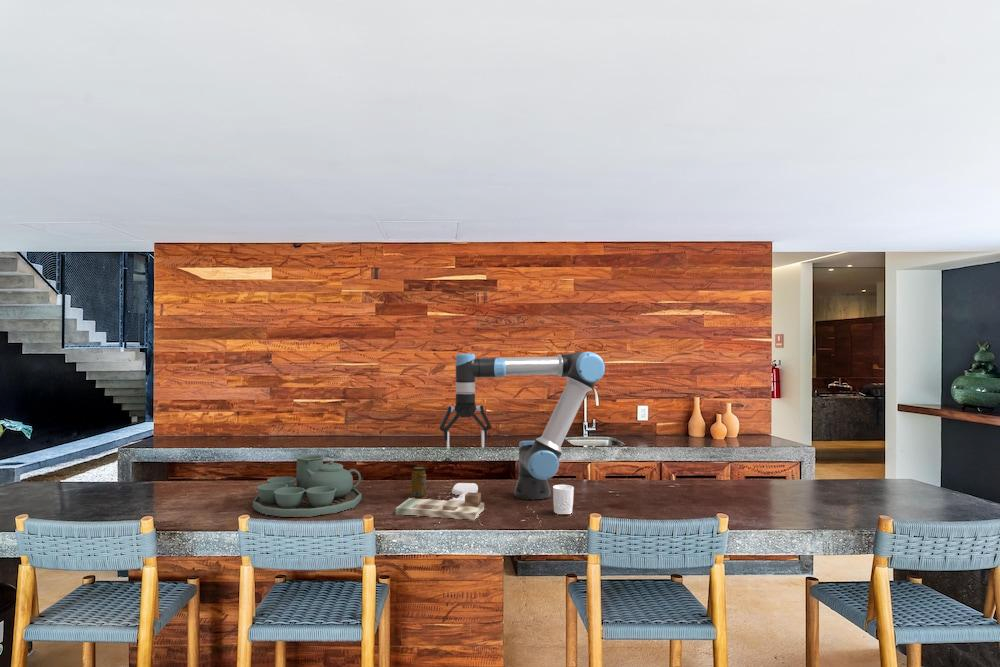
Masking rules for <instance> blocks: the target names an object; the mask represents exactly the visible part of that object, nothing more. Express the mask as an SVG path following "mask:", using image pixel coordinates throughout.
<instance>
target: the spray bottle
mask: <svg viewBox="0 0 1000 667" xmlns="http://www.w3.org/2000/svg"><path fill="white" fill-rule="evenodd" d="M478 486H479V485H477V484H476V483H475V482H474V483H473V482H471V483H470V482H469V483H468V482H457V483H456V484H455V485H453V487H452V488H451V494H452V495H453V494H455V495H454V496H456V495H459V496H457V497H452V498H451V499H449V501H463V502H465V495H466V494H467V493H468V492H471V493H478V492H479V490H478V489H479V487H478Z"/></svg>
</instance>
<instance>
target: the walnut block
mask: <svg viewBox="0 0 1000 667" xmlns="http://www.w3.org/2000/svg"><path fill="white" fill-rule="evenodd" d="M481 503H482V493H481V492H477V493H471V492H468V493H467V494H466V495H465V506H469V507H478V506H479V505H480V504H481Z"/></svg>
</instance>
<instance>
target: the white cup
mask: <svg viewBox="0 0 1000 667" xmlns="http://www.w3.org/2000/svg"><path fill="white" fill-rule="evenodd" d="M574 491H575V487H574V486H573V485H569V484H555V485H553V486H552V500H553V513H554V512H555V513H557V514H571V513H572V514H573V506H574V497H575V496H574Z"/></svg>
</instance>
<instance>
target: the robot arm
mask: <svg viewBox="0 0 1000 667" xmlns="http://www.w3.org/2000/svg"><path fill="white" fill-rule="evenodd" d="M455 357H456V358H455V392H456V394H455V405H454V406H451V405H448V406H447V409H446V413H445V414H444V417H443V418H442V421H441V423H440V425H439V427H438V429H439V430H440V431H442V432H443V439H444V441H446V449H447V450H450V431H449V430H450V429H451V427H453V425H454V424H455V423H456V421H457V420H458V419H459V418H471V417H473V419H474V420H475V421H476V423H477V424H478V425H479V426H480V427H481V429H482V430H480V432H481V433H480V434H481V436H480V440H481V441H480V442H481V443H480V446H481V448H482V449H484V448H485V440H487V439H488V430H491V429H492V427H493V426H492V425H491V423H490V421H489V419H488V416H487V415H486V412H485V411H484V406H483V405H482V404H479V405H476V394H475V393H476V378H489V379H490V378H495V379H497V378H504V377H505V376H550V375H551V376H552V375H553V376H554V375H555V376H558V377H559V378H565V379H566V385H565V387H564V389H563V391H562V393H561V395H560V397H559V399H558V402H557V404H556V406H555V408H554V409H553V412H552V414H551V416H550V418H549V420H548V422H547V424H546V426H545V428H544V430H543V432H542V434H541V436H540V437H537V438H535V440H521V441H519V444H518V445H519V446H518V478H517V480H516V481H517V482H516V483H515V487H514V490H513V492H514V494H513V495H515V496H516V497H515V496H514V497H515V498H517V497H518V498H517V499H520V498H522V499H521V500H525V499H543V498H547V497H549V496H550V495H551V489H550V485H549V481H548V480H549V479H551V478H553V477H554V476H555V475H556V474H557V472H558V471H559V467H560V461H559V460H560V458H561V456H562V454H563V450H562V445H563V442H564V440H565V438H566V436H567V434H568V432H569V430H570V428H571V426H572V425H573V422H574V420H575V418H576V416H577V413H578V412H579V409H580V407H581V405H582V403H583V401H584V399H585V397H586V394H587V393H588V392H590V391H592V390H593V389H594V387H595V385H596V383H597V382H598V381H600V380H601V379H602V378H603V376H604V375H605V370H606V365H605V363H604V360H603V358H602V357H601V356H600V355H599V354H597V353H595V352H592V351H585V352H584V351H576V352H571V353H562V354H561V353H560V354H557V355H556V356H515V357H514V356H508V357H507V356H503V357H501V356H500V357H495V356H493V357H488V356H484V357H480V358H479V357H478V358H476V355H475V353H467V352H466V353H463V352H462V353H458V354H456V356H455ZM476 410H477V411H478V412H479V413H480V414H481V416H482V419H483V421H484V422H485V424H486V425H485V424H484V423H483V422H482V421H481V420H480V418H479V417H478V416H477V415H476V414H475V412H476ZM454 411H455V414H454V416H453V417H452V419H451V420H450V421H449V422H448V423H447V421H448V420H449V418H450V415H451V414H452V413H453V412H454ZM550 497H551V496H550ZM547 499H548V498H547ZM543 500H544V499H543Z"/></svg>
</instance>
